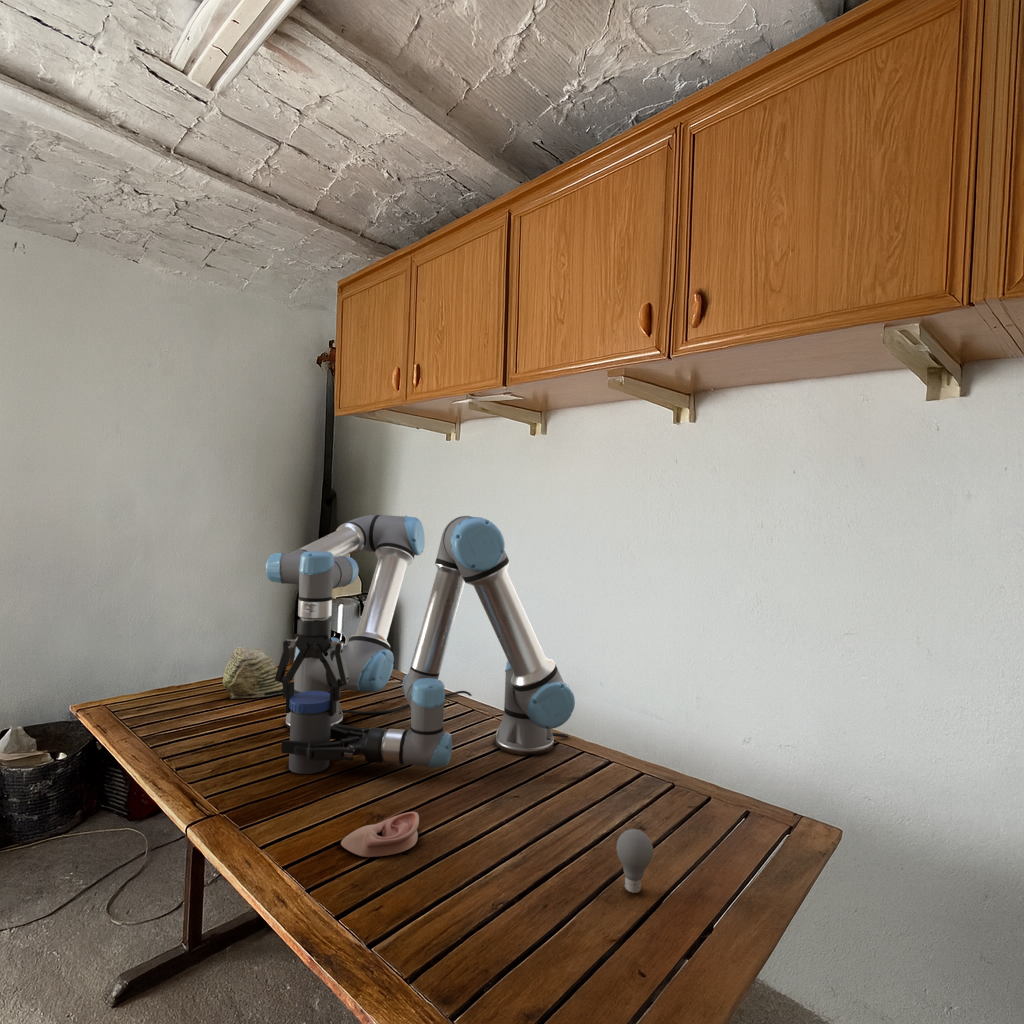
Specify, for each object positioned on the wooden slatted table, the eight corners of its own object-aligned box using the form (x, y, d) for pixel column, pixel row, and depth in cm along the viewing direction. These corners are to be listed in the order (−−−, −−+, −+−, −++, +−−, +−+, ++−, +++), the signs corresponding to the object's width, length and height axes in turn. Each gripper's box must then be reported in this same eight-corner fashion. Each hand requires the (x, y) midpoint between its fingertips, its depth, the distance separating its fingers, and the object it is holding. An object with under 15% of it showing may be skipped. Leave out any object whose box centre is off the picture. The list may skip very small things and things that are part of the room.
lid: (332, 698, 154) (333, 690, 154) (333, 712, 145) (333, 702, 145) (290, 700, 152) (290, 691, 152) (287, 714, 142) (288, 704, 142)
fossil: (218, 695, 195) (220, 647, 195) (278, 685, 208) (279, 640, 207) (228, 703, 189) (230, 653, 188) (289, 692, 201) (290, 645, 201)
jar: (295, 757, 153) (297, 694, 153) (332, 758, 153) (335, 695, 153) (283, 773, 144) (286, 706, 144) (324, 774, 144) (326, 707, 144)
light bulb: (610, 879, 108) (613, 822, 108) (644, 879, 109) (647, 822, 109) (619, 902, 102) (622, 840, 102) (655, 901, 103) (658, 840, 103)
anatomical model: (333, 830, 113) (361, 800, 124) (332, 852, 113) (360, 820, 124) (403, 841, 110) (425, 810, 122) (402, 863, 110) (424, 830, 122)
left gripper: (261, 618, 145) (257, 715, 145) (356, 623, 144) (353, 721, 144) (274, 612, 152) (271, 704, 153) (366, 617, 151) (362, 710, 152)
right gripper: (370, 782, 136) (269, 774, 138) (396, 743, 158) (309, 737, 160) (371, 747, 136) (270, 740, 138) (397, 714, 158) (310, 707, 160)
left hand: (311, 712), depth 148 cm, fingers closed on lid, 10 cm apart
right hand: (291, 738), depth 149 cm, fingers closed on jar, 9 cm apart
